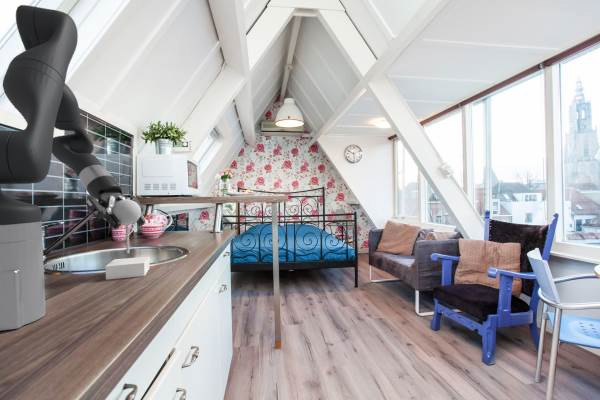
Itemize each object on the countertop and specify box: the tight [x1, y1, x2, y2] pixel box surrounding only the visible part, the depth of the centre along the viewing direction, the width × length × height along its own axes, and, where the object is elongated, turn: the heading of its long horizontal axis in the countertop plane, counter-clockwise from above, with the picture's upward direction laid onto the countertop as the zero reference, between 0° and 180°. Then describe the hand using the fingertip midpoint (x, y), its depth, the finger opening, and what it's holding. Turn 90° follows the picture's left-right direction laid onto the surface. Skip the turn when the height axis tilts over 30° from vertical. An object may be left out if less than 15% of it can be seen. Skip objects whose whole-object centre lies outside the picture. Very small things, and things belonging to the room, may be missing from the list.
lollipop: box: [112, 199, 142, 254], centre depth 84 cm, size 7×7×15 cm
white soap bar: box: [105, 256, 150, 281], centre depth 84 cm, size 9×9×4 cm
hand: (131, 225), depth 84 cm, fingers closed on lollipop, 7 cm apart
